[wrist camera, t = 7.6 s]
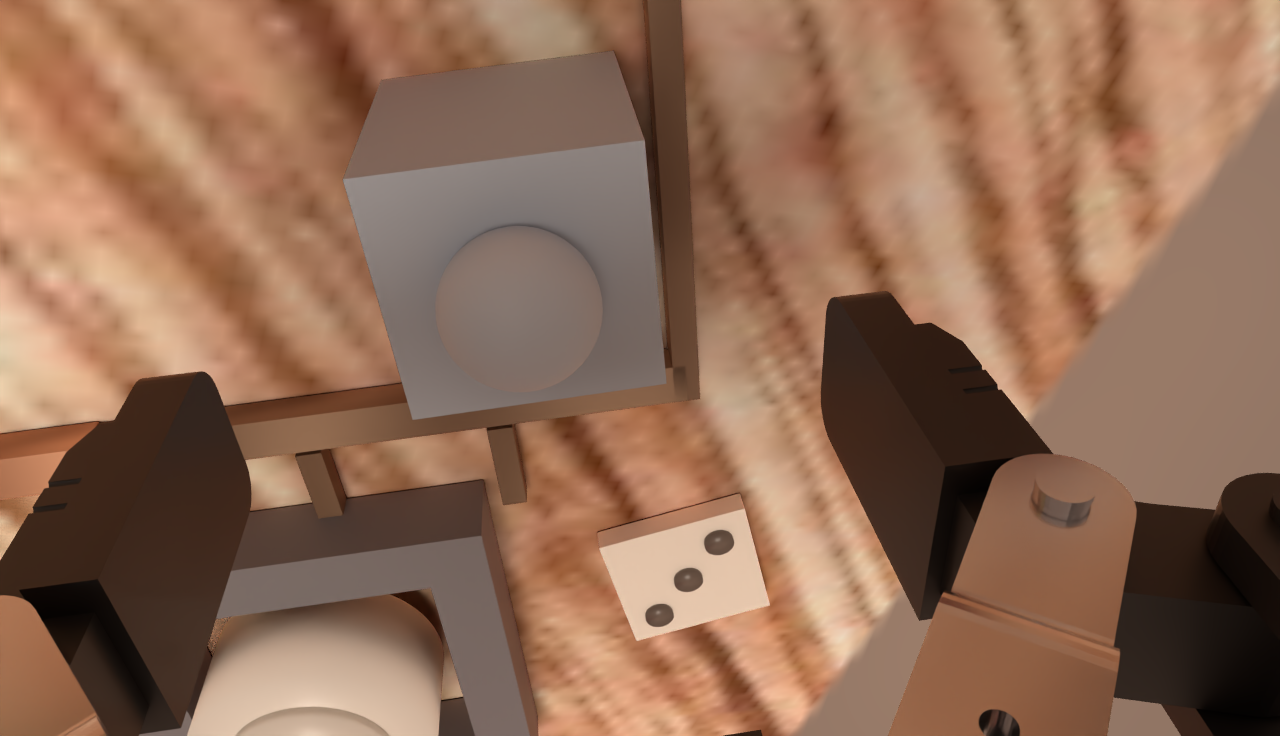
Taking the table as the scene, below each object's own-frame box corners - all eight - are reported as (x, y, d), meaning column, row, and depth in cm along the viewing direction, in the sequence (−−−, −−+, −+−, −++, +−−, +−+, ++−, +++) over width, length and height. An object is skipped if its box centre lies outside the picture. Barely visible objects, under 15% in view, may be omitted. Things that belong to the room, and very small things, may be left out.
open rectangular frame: (666, -164, 16) (674, -160, 15) (698, 462, 24) (705, 488, 23) (-774, -21, 15) (-850, -8, 14) (-226, 589, 23) (-254, 621, 22)
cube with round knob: (613, 50, 18) (661, 189, 12) (635, 255, 20) (683, 451, 15) (381, 79, 18) (320, 235, 12) (432, 283, 20) (402, 492, 14)
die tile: (739, 493, 25) (745, 512, 24) (765, 589, 27) (770, 609, 26) (597, 532, 25) (599, 552, 24) (633, 624, 27) (637, 645, 27)
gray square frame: (482, 480, 23) (481, 535, 22) (537, 717, 29) (539, 775, 27) (81, 535, 23) (48, 596, 21) (216, 766, 28) (199, 828, 27)
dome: (418, 567, 24) (407, 673, 21) (462, 708, 27) (456, 815, 24) (183, 600, 23) (140, 712, 21) (257, 739, 27) (228, 851, 24)
